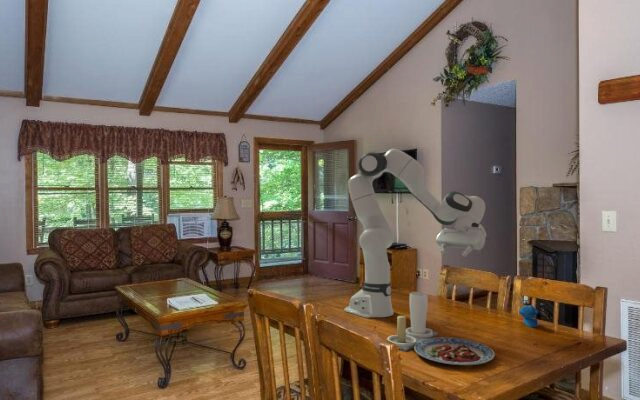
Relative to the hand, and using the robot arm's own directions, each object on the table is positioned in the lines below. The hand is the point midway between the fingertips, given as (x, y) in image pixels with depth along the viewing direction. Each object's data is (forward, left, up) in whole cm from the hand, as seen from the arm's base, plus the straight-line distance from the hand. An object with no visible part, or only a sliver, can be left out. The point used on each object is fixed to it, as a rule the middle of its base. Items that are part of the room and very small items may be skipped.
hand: (453, 254), depth 190 cm
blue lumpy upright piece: (+24, +20, -29) cm, 43 cm away
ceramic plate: (+15, -33, -30) cm, 46 cm away
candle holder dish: (-4, -27, -29) cm, 40 cm away
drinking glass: (-5, -21, -28) cm, 36 cm away
